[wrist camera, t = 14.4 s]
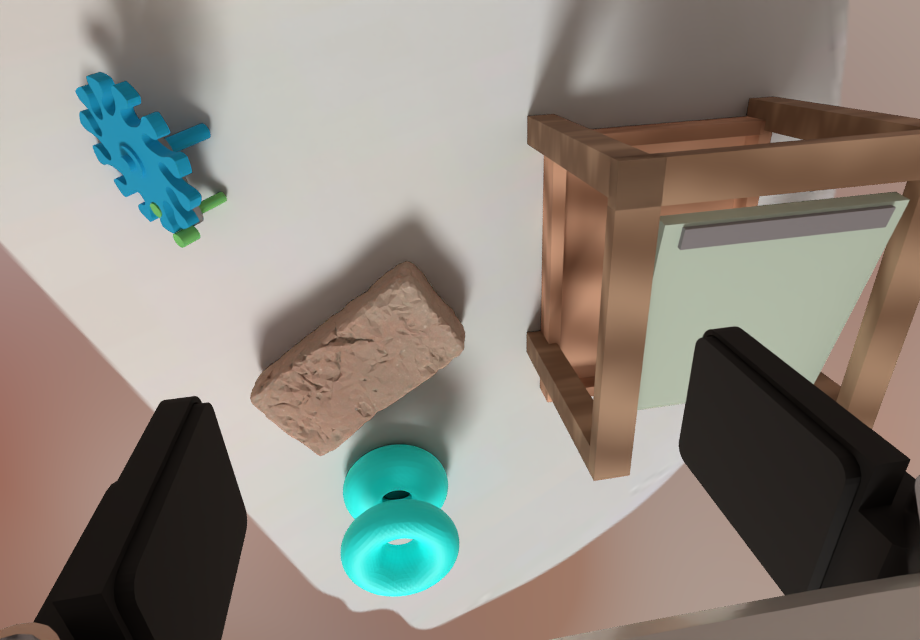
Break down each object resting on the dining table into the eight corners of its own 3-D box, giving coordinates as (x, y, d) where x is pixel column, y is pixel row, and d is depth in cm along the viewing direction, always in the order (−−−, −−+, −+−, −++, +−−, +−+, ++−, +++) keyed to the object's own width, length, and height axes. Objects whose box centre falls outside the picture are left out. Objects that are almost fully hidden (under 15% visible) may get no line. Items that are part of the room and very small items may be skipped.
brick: (404, 253, 45) (409, 276, 40) (466, 323, 48) (475, 350, 44) (253, 371, 47) (243, 403, 43) (322, 428, 51) (319, 463, 47)
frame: (527, 115, 41) (619, 161, 26) (773, 96, 43) (982, 128, 29) (526, 389, 52) (590, 526, 38) (721, 362, 54) (852, 481, 40)
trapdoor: (656, 216, 29) (667, 228, 28) (895, 191, 31) (914, 202, 30) (616, 401, 38) (623, 415, 37) (804, 374, 39) (816, 387, 38)
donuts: (409, 618, 49) (314, 577, 45) (402, 529, 58) (322, 489, 54) (486, 549, 47) (393, 500, 43) (466, 468, 55) (387, 420, 51)
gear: (41, 78, 34) (123, 80, 28) (131, 52, 37) (218, 49, 32) (132, 238, 40) (212, 264, 35) (201, 203, 44) (283, 221, 39)
